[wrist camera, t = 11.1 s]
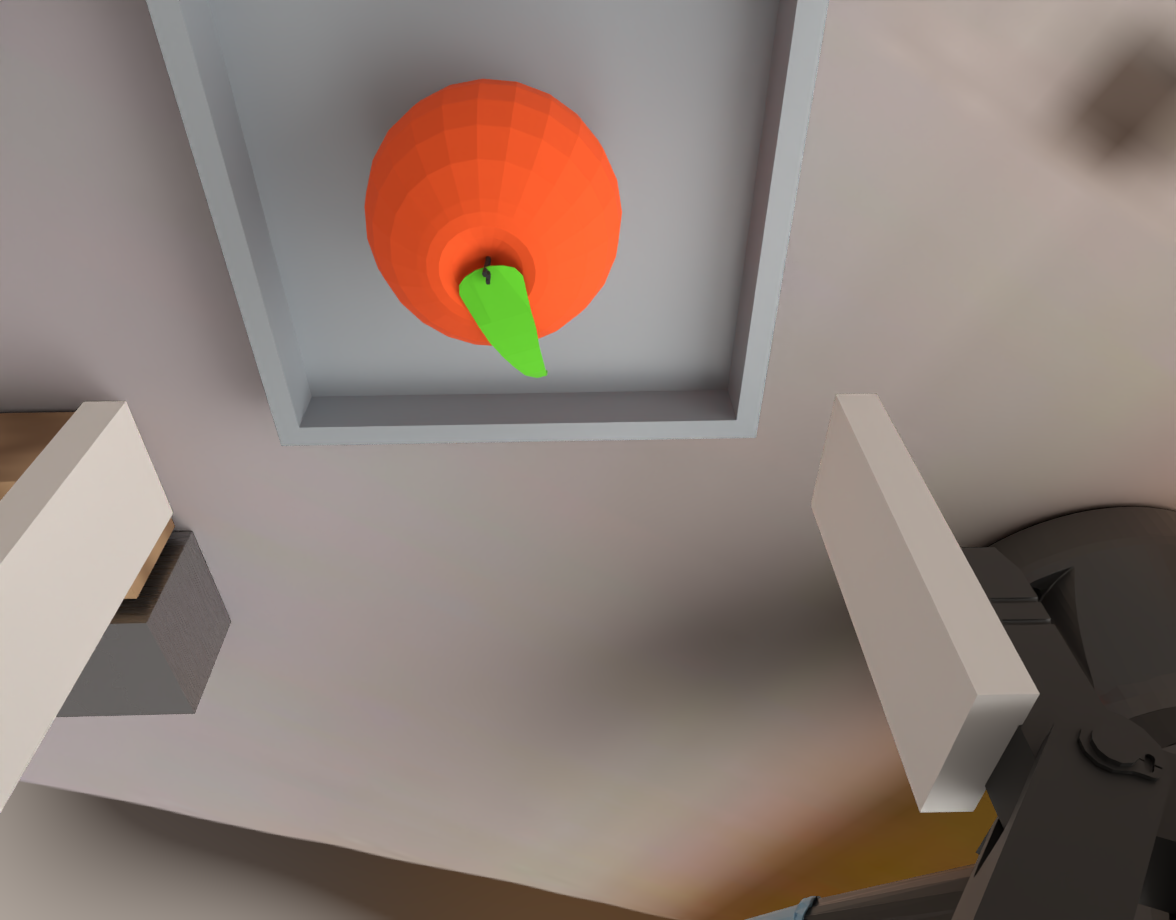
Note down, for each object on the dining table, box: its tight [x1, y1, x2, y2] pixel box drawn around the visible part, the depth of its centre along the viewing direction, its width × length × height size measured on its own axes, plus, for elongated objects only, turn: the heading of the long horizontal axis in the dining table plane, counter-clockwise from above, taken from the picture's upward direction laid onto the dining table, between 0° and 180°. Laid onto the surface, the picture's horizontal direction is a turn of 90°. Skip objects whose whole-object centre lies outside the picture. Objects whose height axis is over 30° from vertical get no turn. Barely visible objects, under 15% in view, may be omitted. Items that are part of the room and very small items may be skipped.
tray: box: [146, 0, 829, 446], centre depth 25 cm, size 17×17×2 cm
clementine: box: [364, 79, 622, 378], centre depth 22 cm, size 8×7×7 cm
